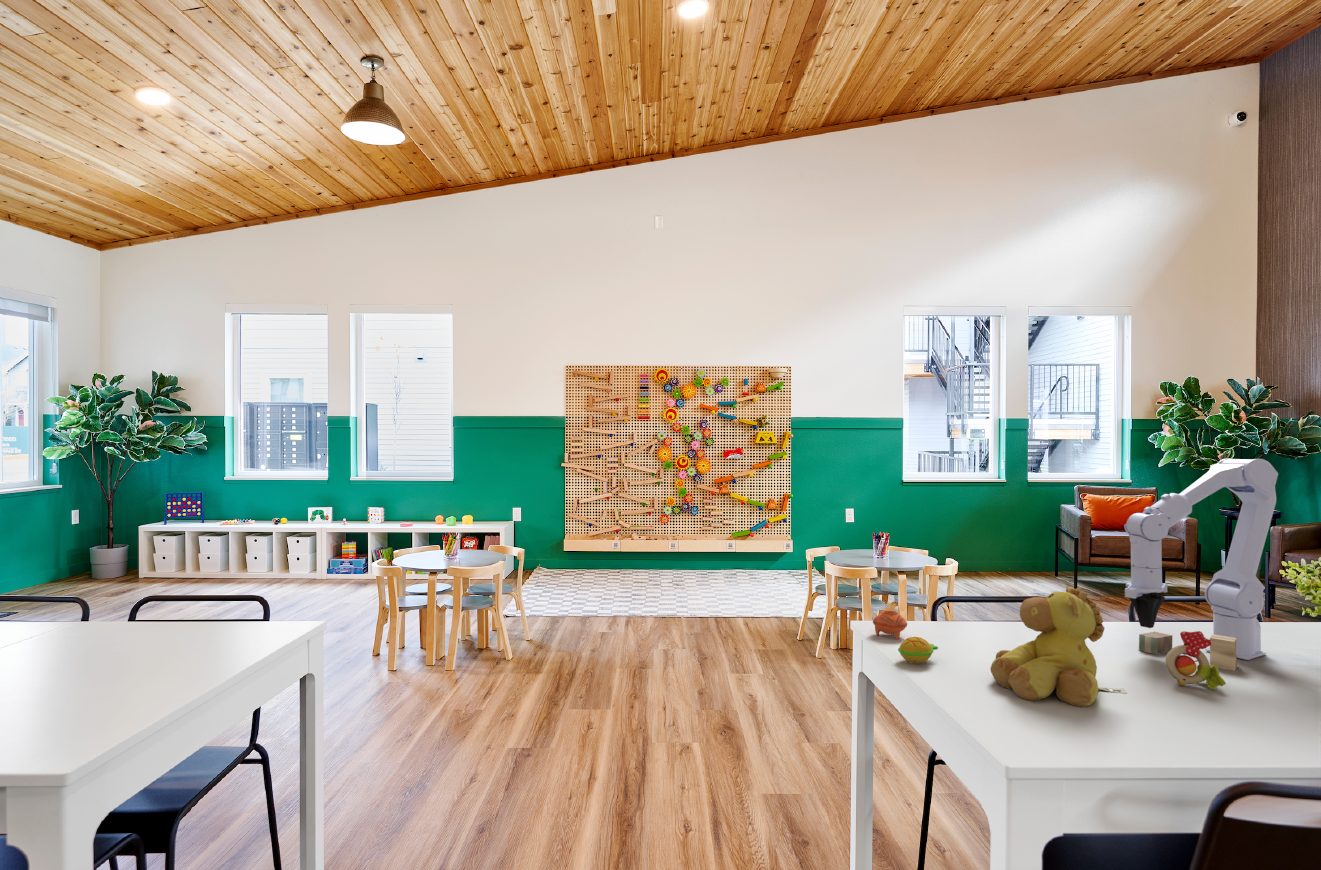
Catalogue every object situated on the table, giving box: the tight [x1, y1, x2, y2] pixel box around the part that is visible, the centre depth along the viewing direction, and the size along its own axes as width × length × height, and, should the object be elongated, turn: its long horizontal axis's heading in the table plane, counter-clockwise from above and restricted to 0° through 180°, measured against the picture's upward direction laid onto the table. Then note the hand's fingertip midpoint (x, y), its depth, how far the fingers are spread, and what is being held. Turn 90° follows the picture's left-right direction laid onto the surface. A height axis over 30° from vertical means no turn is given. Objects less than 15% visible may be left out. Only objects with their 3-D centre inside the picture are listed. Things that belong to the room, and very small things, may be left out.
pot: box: [872, 610, 908, 640], centre depth 167 cm, size 8×8×7 cm
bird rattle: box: [1164, 630, 1227, 691], centre depth 133 cm, size 6×11×9 cm
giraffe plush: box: [989, 586, 1128, 708], centre depth 132 cm, size 20×24×19 cm
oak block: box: [1209, 634, 1238, 671], centre depth 146 cm, size 4×4×6 cm
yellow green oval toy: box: [897, 636, 939, 665], centre depth 148 cm, size 7×10×5 cm
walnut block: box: [1138, 631, 1173, 655], centre depth 157 cm, size 4×4×7 cm
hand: (1146, 626), depth 155 cm, fingers closed
